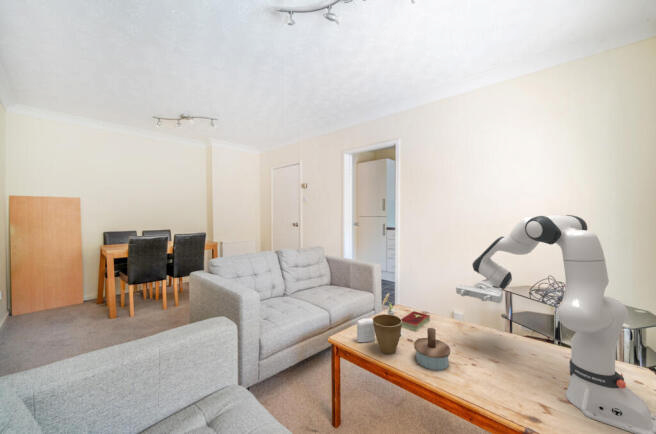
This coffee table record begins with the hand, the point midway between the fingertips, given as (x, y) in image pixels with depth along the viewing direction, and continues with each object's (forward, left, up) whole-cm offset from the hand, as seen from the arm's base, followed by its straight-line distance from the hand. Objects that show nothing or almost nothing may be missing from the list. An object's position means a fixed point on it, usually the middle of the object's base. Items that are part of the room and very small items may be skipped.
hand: (472, 296), depth 122 cm
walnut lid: (+12, +17, -24) cm, 32 cm away
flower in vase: (+41, +10, -30) cm, 52 cm away
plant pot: (+32, +25, -30) cm, 51 cm away
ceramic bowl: (+12, +17, -30) cm, 37 cm away
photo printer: (+46, +26, -30) cm, 61 cm away
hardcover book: (+40, -14, -31) cm, 52 cm away
